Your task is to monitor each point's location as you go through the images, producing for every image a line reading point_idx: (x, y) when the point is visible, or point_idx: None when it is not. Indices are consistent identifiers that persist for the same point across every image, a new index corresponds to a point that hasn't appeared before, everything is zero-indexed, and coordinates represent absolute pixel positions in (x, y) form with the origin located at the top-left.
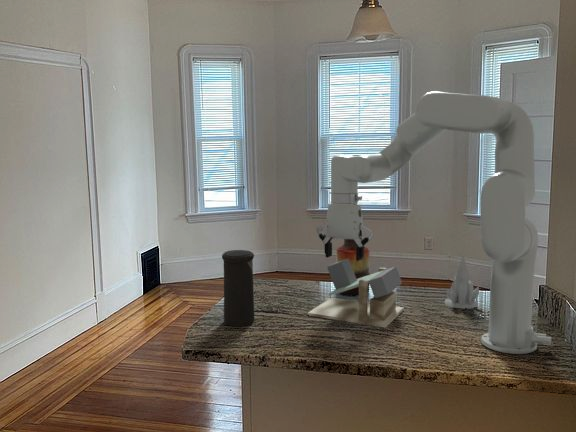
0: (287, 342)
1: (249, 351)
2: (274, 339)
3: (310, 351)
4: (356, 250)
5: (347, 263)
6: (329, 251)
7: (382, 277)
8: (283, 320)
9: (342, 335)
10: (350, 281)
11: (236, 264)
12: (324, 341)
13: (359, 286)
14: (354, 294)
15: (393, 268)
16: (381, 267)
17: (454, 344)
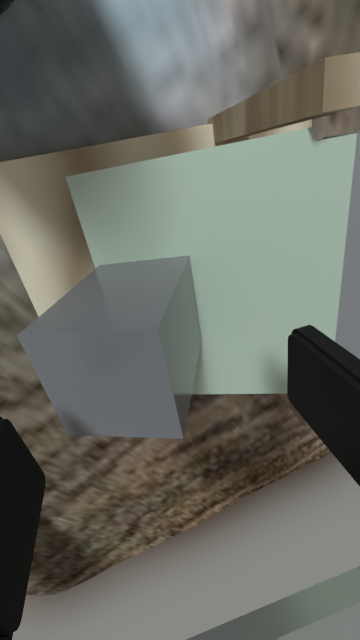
0: (165, 492)
1: (141, 543)
2: (134, 501)
3: (222, 485)
4: (345, 464)
5: (176, 353)
6: (20, 505)
7: None
8: (52, 440)
9: (233, 408)
10: (198, 335)
11: None
12: (219, 448)
13: (293, 408)
14: (5, 4)
15: None
16: (337, 62)
17: None
